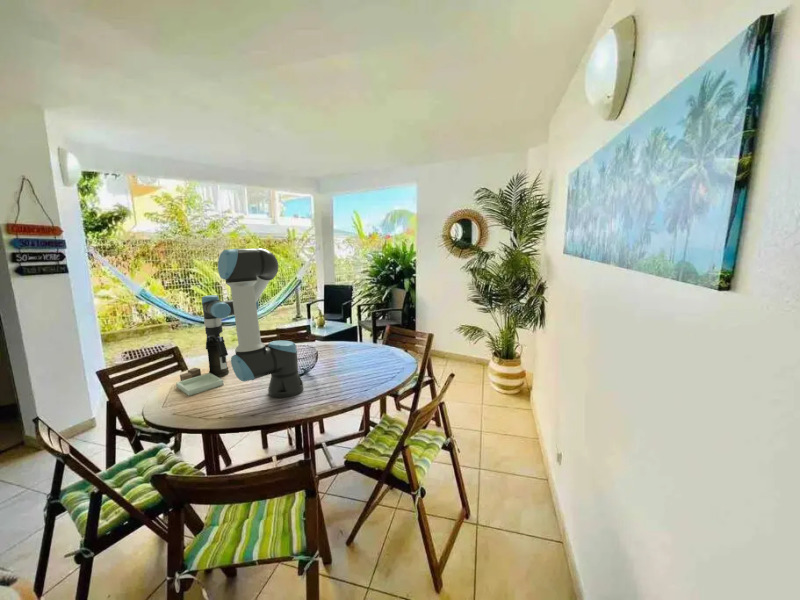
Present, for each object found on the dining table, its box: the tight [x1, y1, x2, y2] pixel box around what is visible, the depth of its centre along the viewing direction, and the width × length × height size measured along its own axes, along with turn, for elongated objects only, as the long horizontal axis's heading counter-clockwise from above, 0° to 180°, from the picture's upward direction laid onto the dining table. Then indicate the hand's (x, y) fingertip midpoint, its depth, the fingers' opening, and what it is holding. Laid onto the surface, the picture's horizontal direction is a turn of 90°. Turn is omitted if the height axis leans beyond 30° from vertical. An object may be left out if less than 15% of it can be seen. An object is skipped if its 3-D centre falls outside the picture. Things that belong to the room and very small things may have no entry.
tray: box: [175, 372, 224, 397], centre depth 159 cm, size 15×15×2 cm
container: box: [205, 340, 230, 378], centre depth 172 cm, size 9×9×18 cm
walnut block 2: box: [187, 367, 202, 378], centre depth 171 cm, size 4×4×4 cm
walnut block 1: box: [179, 371, 192, 381], centre depth 165 cm, size 4×4×4 cm
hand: (218, 365), depth 173 cm, fingers open, 13 cm apart
